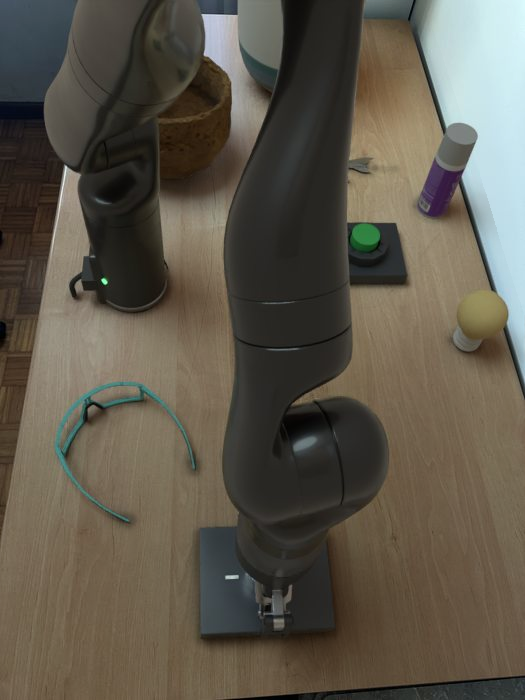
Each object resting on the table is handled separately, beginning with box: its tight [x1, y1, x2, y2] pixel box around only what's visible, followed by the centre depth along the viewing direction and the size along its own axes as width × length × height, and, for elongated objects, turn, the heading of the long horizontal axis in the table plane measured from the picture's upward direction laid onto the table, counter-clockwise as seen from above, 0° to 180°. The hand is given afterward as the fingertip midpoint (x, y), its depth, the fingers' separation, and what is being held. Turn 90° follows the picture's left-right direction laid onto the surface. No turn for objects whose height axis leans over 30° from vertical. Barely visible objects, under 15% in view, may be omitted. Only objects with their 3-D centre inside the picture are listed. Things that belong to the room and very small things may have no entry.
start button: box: [350, 223, 380, 253], centre depth 95 cm, size 4×4×2 cm
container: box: [416, 122, 479, 220], centre depth 99 cm, size 5×5×15 cm
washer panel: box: [199, 525, 336, 639], centre depth 73 cm, size 14×11×3 cm
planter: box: [237, 0, 367, 93], centre depth 110 cm, size 20×20×21 cm
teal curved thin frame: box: [54, 381, 196, 523], centre depth 79 cm, size 14×15×5 cm
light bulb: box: [452, 289, 510, 353], centre depth 88 cm, size 6×6×10 cm
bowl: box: [157, 55, 233, 180], centre depth 100 cm, size 19×19×15 cm
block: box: [347, 221, 408, 286], centre depth 97 cm, size 12×10×4 cm
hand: (266, 573), depth 70 cm, fingers open, 7 cm apart
